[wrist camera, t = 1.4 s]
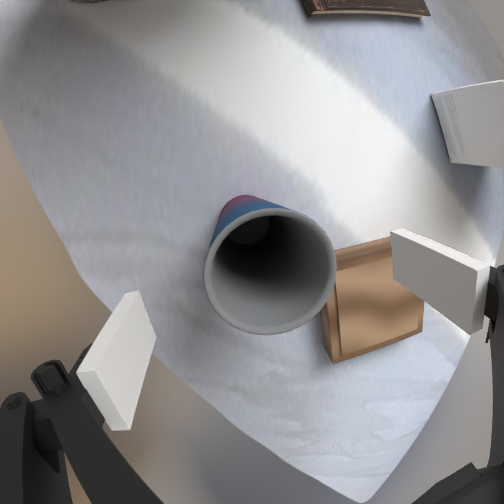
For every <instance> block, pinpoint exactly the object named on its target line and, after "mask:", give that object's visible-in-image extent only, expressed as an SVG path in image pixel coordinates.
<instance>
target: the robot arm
mask: <svg viewBox="0 0 504 504" xmlns="http://www.w3.org/2000/svg"><path fill="white" fill-rule="evenodd" d="M73 1H76V2H98V1H104V0H73ZM390 234H391V247H392V265H393V279H394V280H395V281H397V282H398V283H400V284H401V285H402V286H404V287H405V288H407V289H408V290H410V291H411V292H412V293H414V294H415V295H417V296H418V297H419V298H421V299H422V300H423V301H425V302H426V303H428V304H429V305H430V306H432V307H433V308H434V309H436V310H437V311H438V312H440V313H441V314H443V315H444V316H445V317H447V318H448V319H449V320H451V321H452V322H453V323H455V324H456V325H457V326H458V327H460V328H461V329H462V330H464V331H465V332H466V333H468V334H469V335H471V334H473V333H474V332H477V331H478V330H480V329H482V326H483V320H484V315H485V316H487V317H488V318H490V322H489V327H488V333H487V338H486V343H488V340H489V339H490V346H491V358H492V376H493V420H492V437H491V438H492V439H491V449H490V458H489V462H488V465H487V467H485V468H481V469H476V468H475V466H474V465H473V464H472V463H469V464H467V465H466V466H464V467H463V468H461V469H460V470H458V471H456V472H455V473H453V474H451V475H450V476H448V477H446V478H445V479H443V480H441V481H439V482H438V483H436V484H435V485H434V486H432V487H431V488H430V489H429V490H428V491H427V492H425V493H424V494H423V495H422V496H421V497H419V498H418V499H417V500H416V501H414V502H413V503H412V504H504V265H501V266H499V267H498V268H497V269H496V268H494V267H492V266H490V265H488V264H486V263H483V262H481V261H479V260H477V259H475V258H472V257H470V256H468V255H466V254H463V253H461V252H459V251H457V250H454V249H452V248H450V247H447V246H445V245H442V244H440V243H438V242H435V241H433V240H430V239H428V238H426V237H423V236H421V235H418V234H416V233H413V232H411V231H408V230H405V229H403V228H400V229H396V230H392V231H390ZM156 338H157V337H156V335H155V332H154V330H153V327H152V325H151V322H150V319H149V317H148V314H147V311H146V309H145V306H144V303H143V300H142V297H141V295H140V292H139V290H138V291H133V292H129V293H125V295H124V296H123V298H122V299H121V301H120V302H119V304H118V305H117V307H116V308H115V310H114V311H113V313H112V314H111V316H110V318H109V319H108V321H107V322H106V324H105V325H104V327H103V329H102V330H101V332H100V333H99V335H98V337H97V338H96V340H95V342H94V343H91V344H90V345H89V346H88V347H87V348H86V349H84V350H83V352H82V353H81V355H80V357H79V359H78V360H77V362H76V365H74V366H73V368H72V370H71V371H70V373H69V375H68V373H67V371H66V369H65V367H64V366H63V364H62V362H61V361H59V360H51V361H48V362H45V363H43V364H41V365H40V366H38V367H37V368H36V369H35V370H34V371H33V373H32V374H31V379H32V381H33V383H34V384H35V386H36V388H37V389H38V391H39V392H40V394H41V395H42V397H43V399H40V400H37V401H33V402H31V401H30V400H29V398H28V397H27V395H26V394H25V393H23V392H18V393H14V394H11V395H9V397H7V398H6V399H5V401H4V402H3V403H2V405H1V408H0V504H73V503H72V498H71V493H70V488H69V482H68V476H67V470H66V463H65V455H64V452H65V454H66V456H67V458H68V460H69V462H70V464H71V466H72V468H73V470H74V472H75V474H76V476H77V478H78V480H79V482H80V484H81V485H82V487H83V489H84V491H85V493H86V494H87V496H88V498H89V500H90V501H91V503H92V504H164V503H163V502H162V501H161V500H160V499H159V498H158V497H157V496H156V494H155V493H154V492H153V491H152V490H151V489H150V488H149V487H148V486H147V484H146V483H145V482H144V481H143V480H142V479H141V478H140V476H139V475H138V474H137V473H136V472H135V470H133V468H132V467H131V465H130V464H129V463H128V462H127V461H126V459H125V458H124V457H123V455H122V454H121V453H120V452H119V450H118V449H117V448H116V446H115V445H114V444H113V442H112V441H111V440H110V438H109V437H108V435H107V434H106V432H105V431H104V430H103V428H102V426H103V423H104V421H106V422H107V424H108V425H109V427H110V428H111V429H112V431H114V430H130V429H131V425H132V421H133V417H134V414H135V410H136V406H137V402H138V399H139V395H140V392H141V388H142V384H143V381H144V378H145V374H146V371H147V367H148V364H149V360H150V357H151V354H152V351H153V347H154V344H155V341H156Z"/></svg>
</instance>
